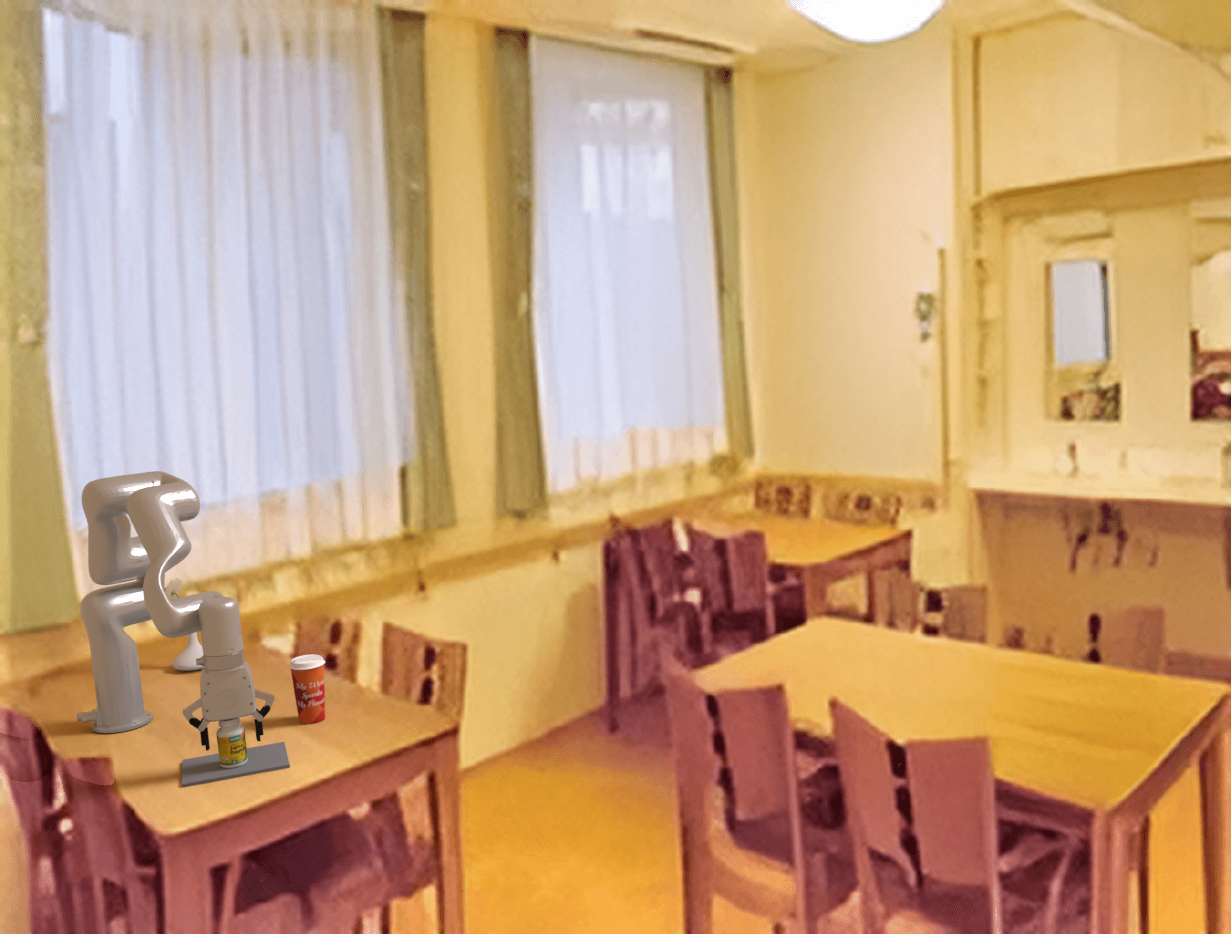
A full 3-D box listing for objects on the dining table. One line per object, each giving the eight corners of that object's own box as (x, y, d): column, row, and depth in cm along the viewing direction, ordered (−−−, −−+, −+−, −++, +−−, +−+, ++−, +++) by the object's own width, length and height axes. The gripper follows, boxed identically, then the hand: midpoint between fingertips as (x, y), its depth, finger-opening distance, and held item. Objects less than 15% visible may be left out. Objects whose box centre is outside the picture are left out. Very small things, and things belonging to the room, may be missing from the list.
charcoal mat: (182, 787, 215) (181, 784, 215) (182, 762, 228) (182, 759, 228) (289, 767, 222) (289, 764, 221) (284, 744, 235) (284, 741, 235)
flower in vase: (202, 659, 304) (192, 569, 301) (227, 664, 297) (217, 572, 294) (158, 672, 294) (147, 579, 291) (183, 678, 287) (173, 583, 284)
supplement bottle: (236, 757, 227) (231, 711, 226) (253, 761, 224) (248, 714, 223) (214, 766, 223) (208, 720, 222) (231, 770, 220) (226, 723, 219)
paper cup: (298, 728, 244) (292, 666, 242) (291, 718, 251) (285, 658, 249) (334, 720, 248) (328, 659, 246) (326, 711, 254) (320, 651, 253)
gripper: (177, 672, 215) (186, 758, 217) (271, 658, 220) (279, 741, 223) (177, 662, 222) (187, 745, 224) (268, 648, 227) (277, 730, 230)
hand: (233, 743), depth 223 cm, fingers open, 9 cm apart
